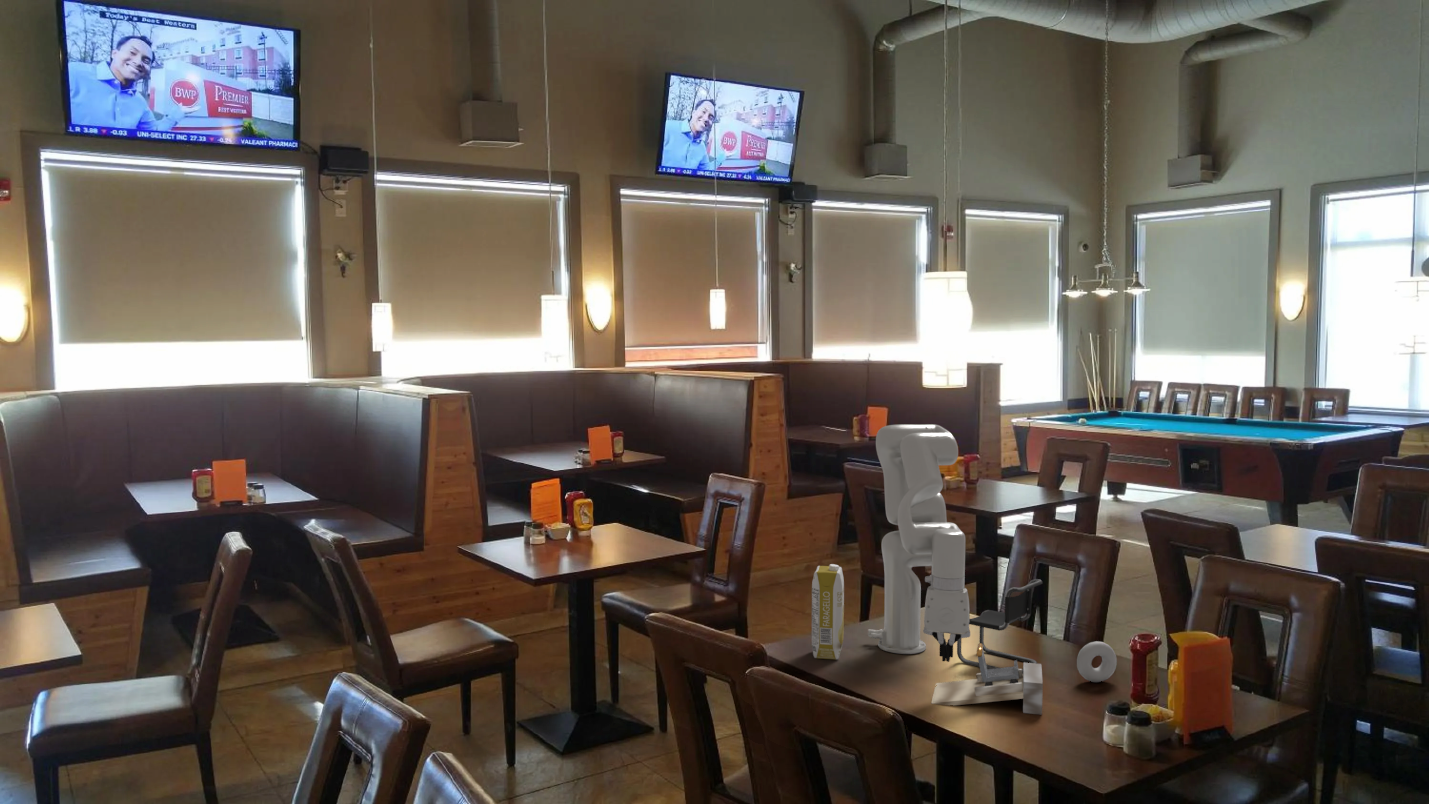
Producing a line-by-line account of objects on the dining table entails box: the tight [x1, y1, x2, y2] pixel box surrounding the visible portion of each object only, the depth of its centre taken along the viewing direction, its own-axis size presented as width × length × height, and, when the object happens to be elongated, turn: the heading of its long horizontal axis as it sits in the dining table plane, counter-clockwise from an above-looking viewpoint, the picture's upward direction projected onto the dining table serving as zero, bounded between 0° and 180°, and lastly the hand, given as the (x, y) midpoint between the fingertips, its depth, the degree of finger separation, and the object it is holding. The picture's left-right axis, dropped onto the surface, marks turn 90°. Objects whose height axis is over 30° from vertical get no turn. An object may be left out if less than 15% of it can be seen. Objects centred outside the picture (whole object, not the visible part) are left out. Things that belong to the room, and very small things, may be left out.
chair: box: [956, 578, 1043, 674], centre depth 256 cm, size 13×17×22 cm
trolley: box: [976, 642, 1020, 686], centre depth 231 cm, size 9×7×9 cm
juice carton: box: [811, 563, 845, 660], centre depth 263 cm, size 9×8×24 cm
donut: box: [1076, 640, 1118, 683], centre depth 242 cm, size 10×4×10 cm, turn 99°
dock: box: [930, 661, 1044, 716], centre depth 232 cm, size 24×14×8 cm, turn 73°
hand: (946, 659), depth 235 cm, fingers closed
